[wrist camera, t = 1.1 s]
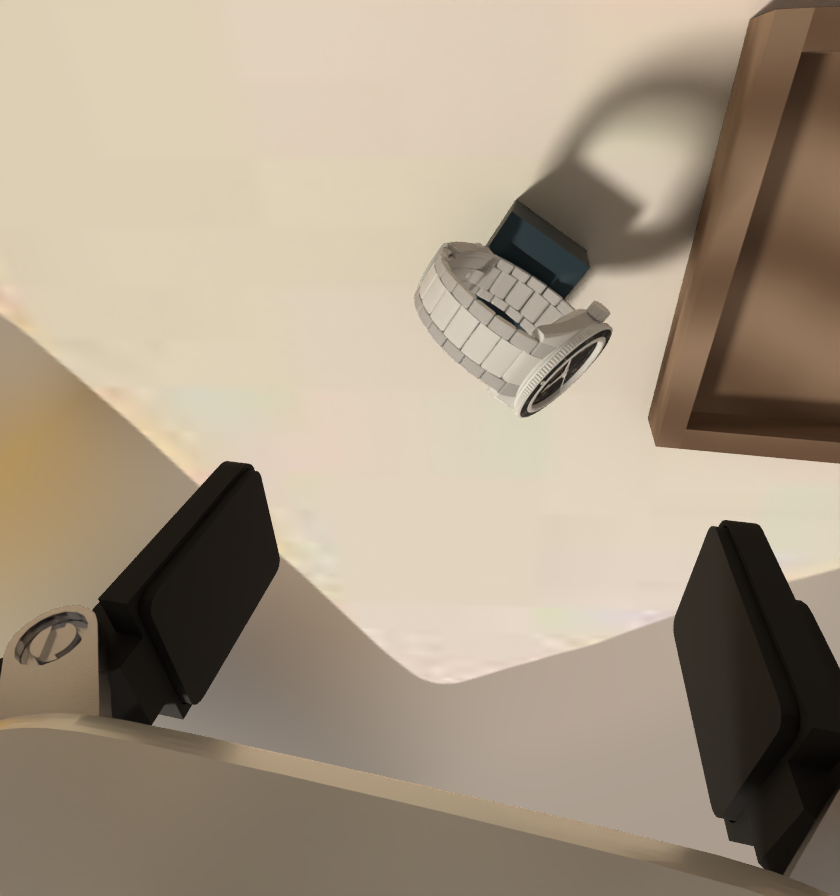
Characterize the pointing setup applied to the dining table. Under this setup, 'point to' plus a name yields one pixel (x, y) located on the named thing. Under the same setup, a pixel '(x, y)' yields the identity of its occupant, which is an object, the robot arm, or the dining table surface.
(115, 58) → the dining table surface
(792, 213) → the tray
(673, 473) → the dining table surface
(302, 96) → the dining table surface
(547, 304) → the watch
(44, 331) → the dining table surface
